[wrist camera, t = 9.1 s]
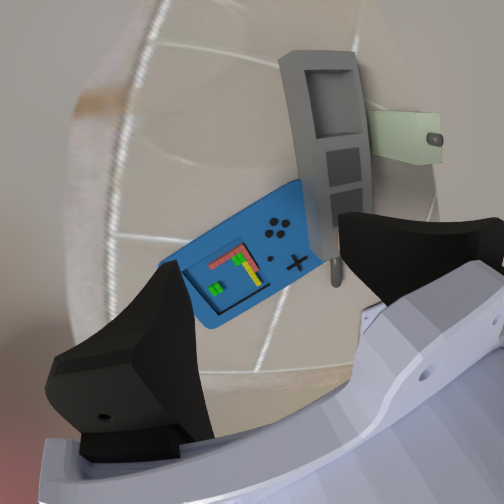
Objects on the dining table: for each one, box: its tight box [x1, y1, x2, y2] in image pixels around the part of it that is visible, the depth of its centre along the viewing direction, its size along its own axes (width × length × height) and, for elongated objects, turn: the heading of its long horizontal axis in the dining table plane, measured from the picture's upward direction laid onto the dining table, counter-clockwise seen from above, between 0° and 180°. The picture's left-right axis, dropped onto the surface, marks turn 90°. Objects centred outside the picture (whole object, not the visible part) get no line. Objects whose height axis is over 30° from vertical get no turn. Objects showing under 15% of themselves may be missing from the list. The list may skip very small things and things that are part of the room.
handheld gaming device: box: [158, 180, 326, 329], centre depth 23 cm, size 8×1×15 cm
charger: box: [368, 111, 443, 166], centre depth 18 cm, size 4×3×7 cm
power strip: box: [278, 50, 373, 288], centre depth 21 cm, size 21×5×4 cm, turn 11°
